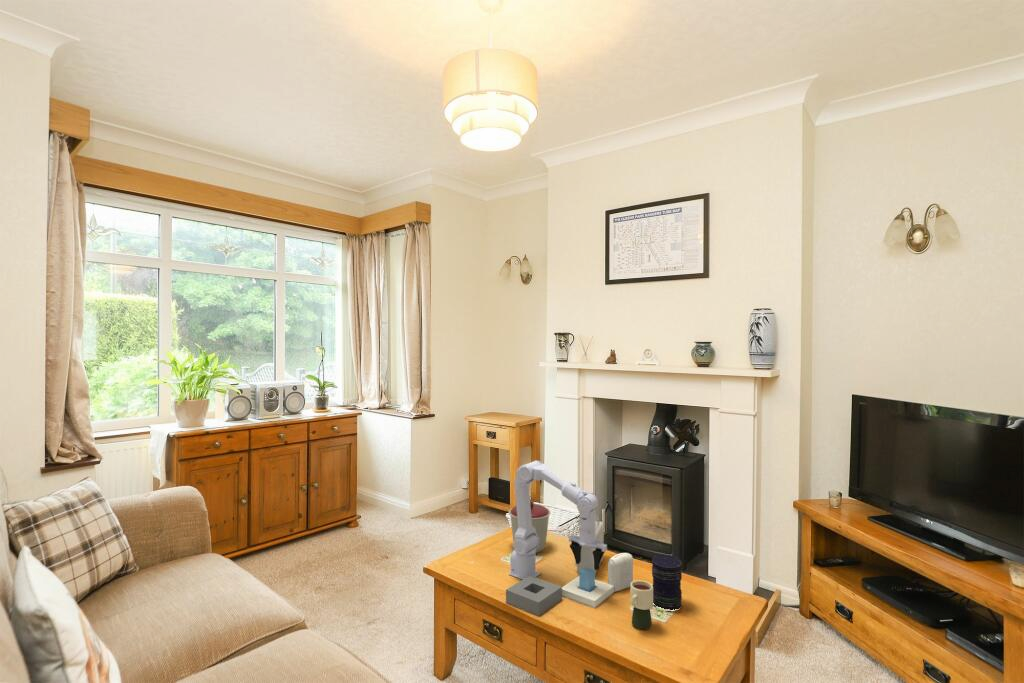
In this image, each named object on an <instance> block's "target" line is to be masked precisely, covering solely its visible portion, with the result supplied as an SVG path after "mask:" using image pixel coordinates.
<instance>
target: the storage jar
mask: <svg viewBox="0 0 1024 683" xmlns="http://www.w3.org/2000/svg"><path fill="white" fill-rule="evenodd" d="M651 565H652V566H651V574H652V585H653V603H654V604H655V605H656V606H658V607H661V608H664V609H670V610H673V609H674V610H675V609H679V608H680V607H681V608H682V599H683V598H682V596H683V595H682V594H683V593H682V589H681V583H682V582H681V581H682V575H683V573H682V572H683V569H682V561H681V559H679V558H677V557H675V556H673V555H672V556H671V555H665V554H664V555H662V554H661V555H655V556H653V557H652V564H651Z"/></svg>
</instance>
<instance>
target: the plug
mask: <svg viewBox="0 0 1024 683" xmlns="http://www.w3.org/2000/svg"><path fill="white" fill-rule="evenodd" d="M578 576H579V589H582V590H585V591H588V592H591V591H593V590H594V589H595V580H596V573H595V570H593V569H590V568H587V567H585V568H583V569H582V570H580V571H579V574H578Z"/></svg>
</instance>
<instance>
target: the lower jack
mask: <svg viewBox="0 0 1024 683" xmlns="http://www.w3.org/2000/svg"><path fill="white" fill-rule="evenodd" d="M561 587H562V598H565V599H566V598H567V599H568V600H571V601H573V602H576V603H579V604H582V605H585V606H587V607H590V608H593V609H596V608H597V607H598V606H600V605H601V604H603V603H604V602H605V600H607V599H608V598H609V597H611V596H612V595H613V594H614V593H615V592H614V586H613V585H610V584H608V582H604V581H601V580H598V579H595V589H594V590H593V591H591V592H588V591H585V590H582V589H579V575H578V576H577V577H575V578H574V579H572V580H571V581H570V582H568V583H566V584H565V585H563V586H561Z"/></svg>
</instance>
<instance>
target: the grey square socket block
mask: <svg viewBox="0 0 1024 683" xmlns="http://www.w3.org/2000/svg"><path fill="white" fill-rule="evenodd" d="M562 587H563V586H561V585H559V584H556V583H552V582H551V581H547V580H544V579H541V578H538V577H533V576H528V577H526V578H525V579H520V581H518V582H516V583H515V584H513V585H511V586H509V587H508V588H506V589H505V603H506V604H509V605H511V606H512V607H516V608H519V609H520V610H523V611H525V612H528V613H530V614H533V615H535V616H537V617H539V616H541V615H542V614H544V613H545V612H546V611H548V610H549V609H551V608H552V607H553V606H555V605H556V604H558V603H559V602H560V601H562V600H563V596H562Z"/></svg>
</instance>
